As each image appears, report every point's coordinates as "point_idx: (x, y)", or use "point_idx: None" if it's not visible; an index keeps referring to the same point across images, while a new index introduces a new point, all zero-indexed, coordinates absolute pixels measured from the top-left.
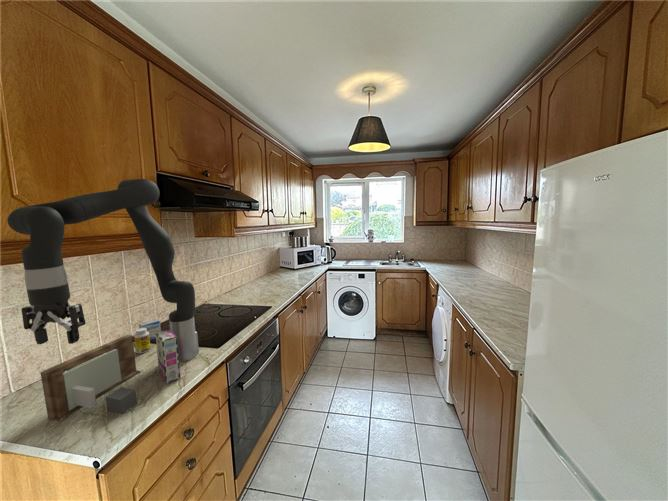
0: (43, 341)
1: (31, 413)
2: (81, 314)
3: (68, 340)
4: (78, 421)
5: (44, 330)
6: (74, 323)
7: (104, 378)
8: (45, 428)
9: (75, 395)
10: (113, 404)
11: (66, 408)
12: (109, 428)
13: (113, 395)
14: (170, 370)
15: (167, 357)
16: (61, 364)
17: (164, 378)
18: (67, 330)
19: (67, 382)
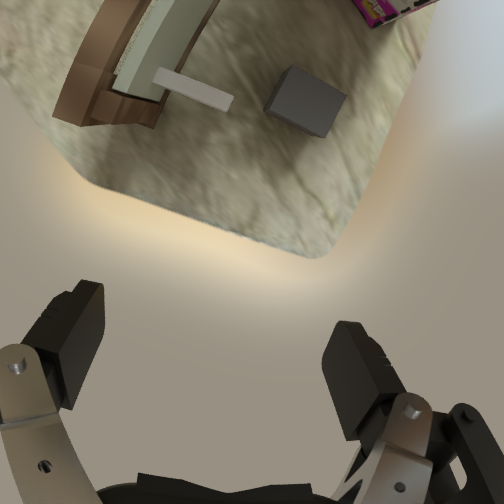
0: (100, 317)
1: None
2: (501, 490)
3: (329, 382)
4: (208, 137)
5: (67, 358)
6: (433, 482)
7: (201, 3)
8: (140, 151)
9: (167, 88)
10: (293, 123)
11: (155, 107)
12: (306, 183)
13: (291, 107)
14: (399, 17)
15: (421, 6)
16: (88, 58)
17: (366, 13)
18: (359, 447)
19: (140, 88)
